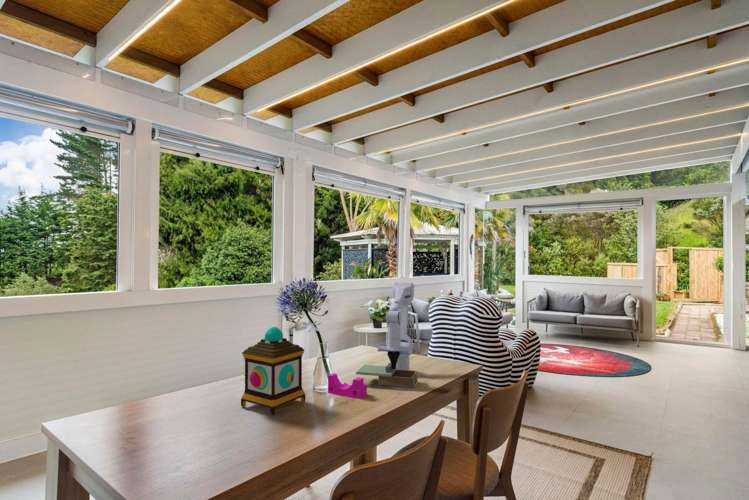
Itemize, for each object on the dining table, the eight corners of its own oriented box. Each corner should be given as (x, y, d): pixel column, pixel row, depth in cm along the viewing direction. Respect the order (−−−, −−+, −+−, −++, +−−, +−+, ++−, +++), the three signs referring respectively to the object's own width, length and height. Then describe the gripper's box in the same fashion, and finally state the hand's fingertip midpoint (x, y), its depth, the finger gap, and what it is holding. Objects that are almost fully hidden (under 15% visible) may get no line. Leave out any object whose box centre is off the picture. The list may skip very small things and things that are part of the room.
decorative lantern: (272, 419, 149) (272, 333, 149) (235, 408, 160) (235, 327, 160) (310, 402, 166) (310, 325, 166) (274, 393, 176) (274, 320, 177)
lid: (364, 366, 199) (364, 359, 199) (397, 369, 195) (397, 361, 195) (356, 374, 186) (356, 366, 186) (390, 376, 182) (390, 368, 182)
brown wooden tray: (385, 379, 196) (385, 368, 196) (417, 382, 192) (417, 370, 192) (378, 387, 184) (378, 375, 184) (412, 390, 180) (412, 378, 180)
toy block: (366, 394, 175) (366, 376, 175) (358, 399, 170) (358, 380, 170) (336, 389, 182) (336, 371, 182) (327, 393, 177) (327, 375, 177)
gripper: (375, 338, 187) (375, 369, 186) (408, 340, 183) (408, 372, 183) (379, 335, 193) (379, 365, 193) (411, 337, 190) (411, 367, 190)
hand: (394, 368), depth 188 cm, fingers closed
